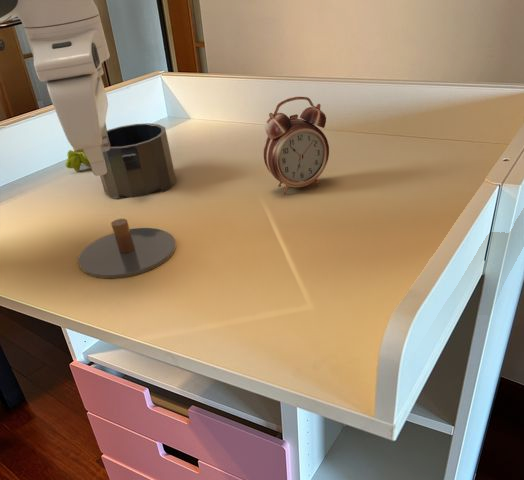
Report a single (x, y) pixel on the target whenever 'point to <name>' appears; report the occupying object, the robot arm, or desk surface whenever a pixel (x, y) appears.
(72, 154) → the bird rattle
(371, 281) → the desk surface
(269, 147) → the alarm clock
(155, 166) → the pot
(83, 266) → the lid
